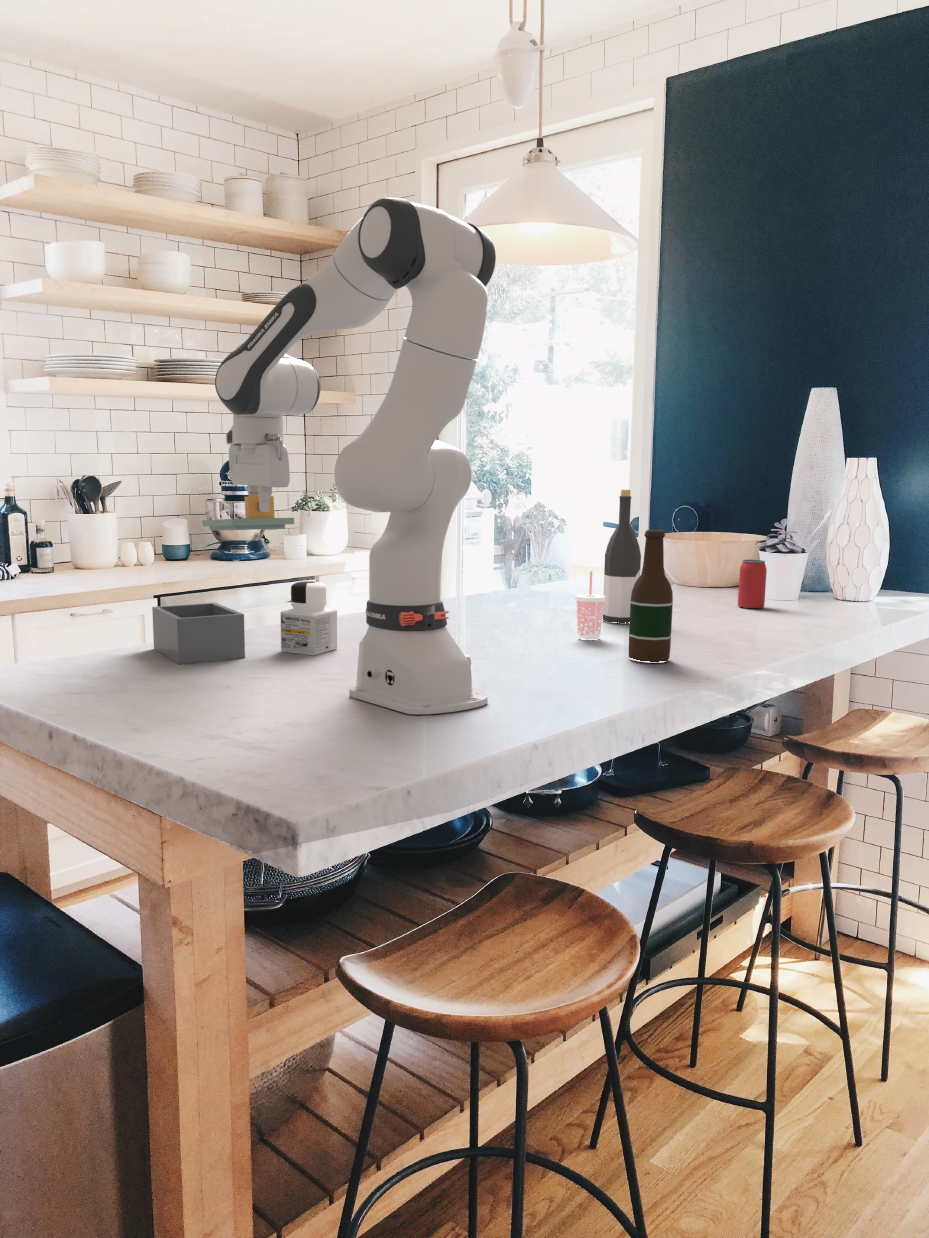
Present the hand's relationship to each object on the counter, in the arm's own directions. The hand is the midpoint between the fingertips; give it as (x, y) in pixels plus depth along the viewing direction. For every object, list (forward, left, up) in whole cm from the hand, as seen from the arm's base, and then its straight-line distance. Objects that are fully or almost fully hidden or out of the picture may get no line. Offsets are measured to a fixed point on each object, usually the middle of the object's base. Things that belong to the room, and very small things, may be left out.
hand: (260, 511), depth 176 cm
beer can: (-4, -129, -26) cm, 132 cm away
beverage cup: (-19, -63, -26) cm, 71 cm away
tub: (+4, +11, -26) cm, 29 cm away
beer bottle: (-41, -59, -26) cm, 77 cm away
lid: (+6, 0, -3) cm, 7 cm away
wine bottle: (-5, -84, -26) cm, 88 cm away
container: (-3, -8, -26) cm, 28 cm away
